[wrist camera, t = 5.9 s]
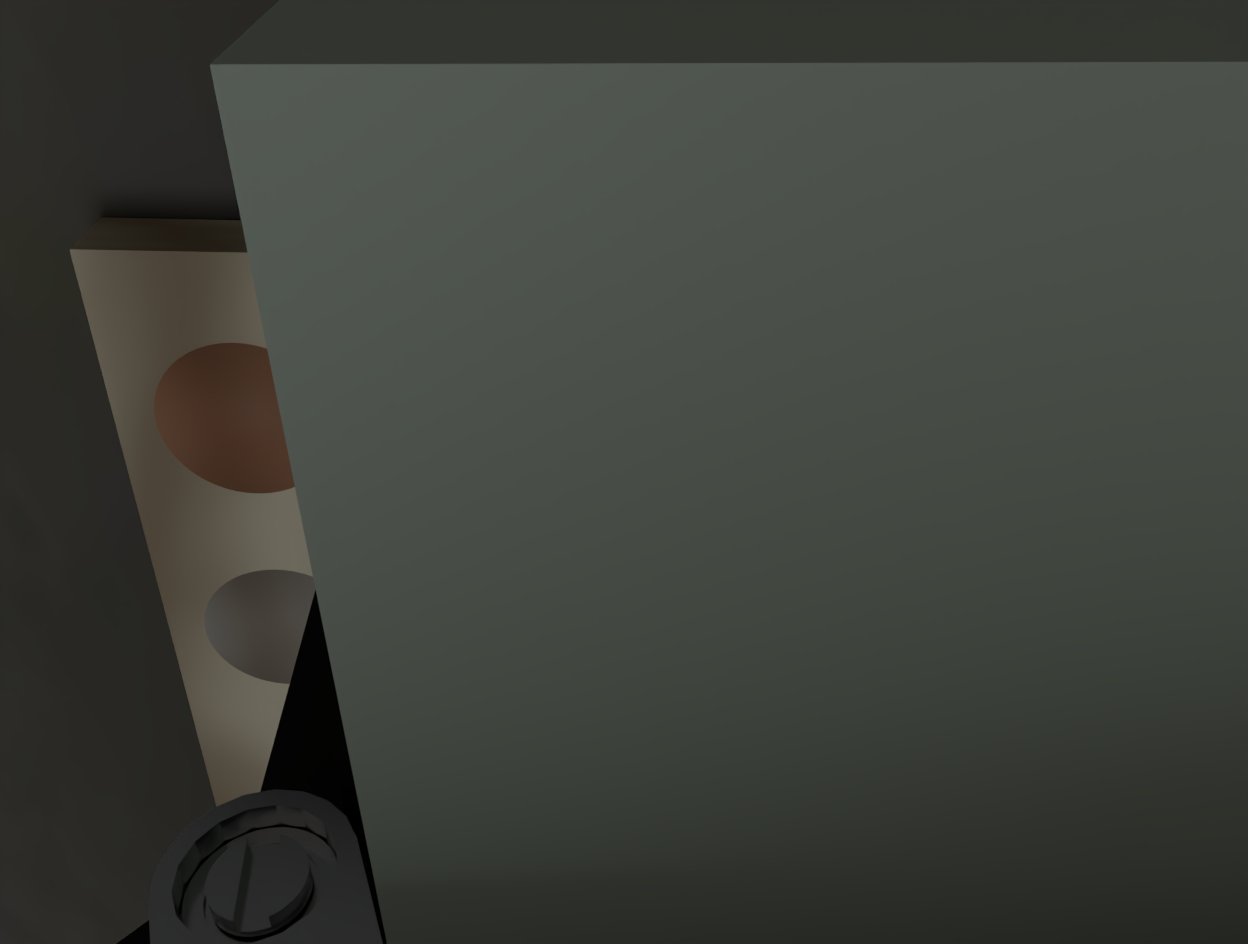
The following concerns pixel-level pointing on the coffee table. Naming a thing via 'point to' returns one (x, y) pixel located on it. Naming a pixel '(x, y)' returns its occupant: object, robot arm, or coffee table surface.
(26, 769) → the coffee table surface
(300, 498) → the housing
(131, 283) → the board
